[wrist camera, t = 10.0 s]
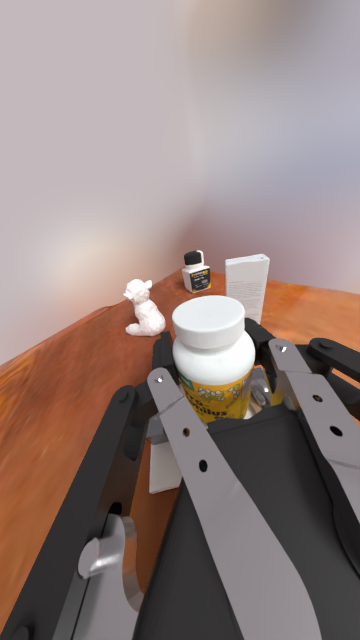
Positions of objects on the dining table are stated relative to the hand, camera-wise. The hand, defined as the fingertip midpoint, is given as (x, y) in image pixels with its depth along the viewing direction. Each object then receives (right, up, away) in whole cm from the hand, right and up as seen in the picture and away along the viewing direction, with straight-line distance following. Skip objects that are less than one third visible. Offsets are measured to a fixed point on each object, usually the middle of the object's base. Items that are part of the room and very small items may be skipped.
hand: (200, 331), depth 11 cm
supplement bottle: (+2, -6, +1) cm, 7 cm away
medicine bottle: (+5, +13, +36) cm, 38 cm away
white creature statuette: (-8, -1, +20) cm, 21 cm away
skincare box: (+11, +1, +16) cm, 19 cm away
